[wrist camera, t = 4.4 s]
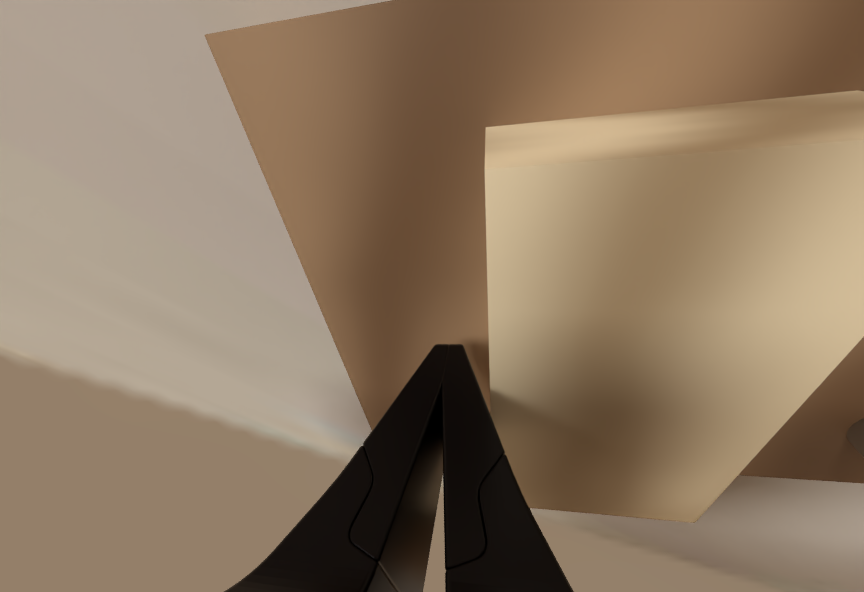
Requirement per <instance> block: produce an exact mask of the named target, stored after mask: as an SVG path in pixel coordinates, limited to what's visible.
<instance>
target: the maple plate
mask: <svg viewBox="0 0 864 592" xmlns="http://www.w3.org/2000/svg"><path fill="white" fill-rule="evenodd" d="M485 207H486V248H487V288H488V329H489V369H490V410H491V417H492V420H493V422H494V425H495V428H496V430H497V433H498V435H499V438H500V441H501V443H502V446H503V448H504V451H505V455H506V456H507V458H508V461H509V463H510V466H511V468H512V471H513V473H514V476H515V478H516V480H517V483H518V485H519V487H520V490H521V492H522V494H523V496H524V498H525V500H526V502H527V504H528V507H529V508H538V509H549V510H560V511H571V512H582V513H593V514H604V515H615V516H626V517H636V518H647V519H658V520H669V521H680V522H691V523H695V522H696V521H697V520H698V519H699V518H700V517H701V515H702V514H703V513H704V512H705V511H706V510H707V509H708V508H709V507H710V505H711V504H712V503H713V502H714V501H715V500H716V499H717V498H718V497H719V496H720V494H721V493H722V492H723V491H724V490H725V489H726V488H727V487H728V486H729V485H730V483H731V482H732V481H733V480H734V479H735V478H736V477H737V476H738V475H739V474H740V472H741V471H742V470H743V469H744V468H745V467H746V466H747V465H748V464H749V462H750V461H751V460H752V459H753V458H754V457H755V456H756V455H757V454H758V453H759V451H760V450H761V449H762V448H763V447H764V446H765V445H766V444H767V443H768V442H769V440H770V439H771V438H772V437H773V436H774V435H775V434H776V433H777V432H778V430H779V429H780V428H781V427H782V426H783V425H784V424H785V423H786V422H787V421H788V419H789V418H790V417H791V416H792V415H793V414H794V413H795V412H796V411H797V410H798V408H799V407H800V406H801V405H802V404H803V403H804V402H805V401H806V400H807V399H808V397H809V396H810V395H811V394H812V393H813V392H814V391H815V390H816V389H817V387H818V386H819V385H820V384H821V383H822V382H823V381H824V380H825V379H826V378H827V376H828V375H829V374H830V373H831V372H832V371H833V370H834V369H835V368H836V367H837V365H838V364H839V363H840V362H841V361H842V360H843V359H844V358H845V357H846V356H847V354H848V353H849V352H850V351H851V350H852V349H853V348H854V347H855V346H856V344H857V343H858V342H859V341H860V340H861V339H862V338H863V337H864V91H858V90H856V91H846V92H836V93H826V94H816V95H806V96H796V97H786V98H776V99H766V100H756V101H746V102H736V103H725V104H715V105H705V106H695V107H685V108H675V109H665V110H655V111H645V112H635V113H625V114H615V115H605V116H595V117H584V118H574V119H564V120H554V121H544V122H534V123H524V124H514V125H504V126H494V127H486V134H485Z"/></svg>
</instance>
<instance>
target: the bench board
mask: <svg viewBox="0 0 864 592" xmlns="http://www.w3.org/2000/svg"><path fill="white" fill-rule="evenodd" d="M205 37H206V40H207V42H208V44H209V47H210V49H211V52H212V54H213V56H214V59H215V61H216V63H217V66H218V68H219V70H220V73H221V75H222V77H223V80H224V82H225V85H226V87H227V89H228V92H229V94H230V96H231V99H232V101H233V103H234V106H235V108H236V111H237V113H238V115H239V118H240V120H241V122H242V125H243V127H244V129H245V132H246V134H247V137H248V139H249V141H250V144H251V146H252V148H253V151H254V153H255V155H256V158H257V160H258V163H259V165H260V167H261V170H262V172H263V174H264V177H265V179H266V181H267V184H268V186H269V189H270V191H271V193H272V196H273V198H274V200H275V203H276V205H277V207H278V210H279V212H280V214H281V217H282V219H283V222H284V224H285V226H286V229H287V231H288V233H289V236H290V238H291V240H292V243H293V245H294V248H295V250H296V252H297V255H298V257H299V259H300V262H301V264H302V266H303V269H304V271H305V274H306V276H307V278H308V281H309V283H310V285H311V288H312V290H313V292H314V295H315V297H316V300H317V302H318V304H319V307H320V309H321V311H322V314H323V316H324V318H325V321H326V323H327V325H328V328H329V330H330V333H331V335H332V337H333V340H334V342H335V344H336V347H337V349H338V351H339V354H340V356H341V359H342V361H343V363H344V366H345V368H346V370H347V373H348V375H349V377H350V380H351V382H352V385H353V387H354V389H355V392H356V394H357V396H358V399H359V401H360V403H361V406H362V408H363V411H364V413H365V415H366V418H367V420H368V422H369V425H370V427H371V429H372V430H373V429H374V428H375V426H376V425H377V424H378V422H379V421H380V419H381V418H382V417H383V415H384V414H385V413H386V411H387V410H388V408H389V407H390V406H391V404H392V403H393V402H394V400H395V399H396V397H397V396H398V395H399V393H400V392H401V391H402V389H403V388H404V386H405V385H406V384H407V382H408V381H409V379H410V378H411V377H412V375H413V374H414V373H415V371H416V370H417V368H418V367H419V366H420V364H421V363H422V362H423V360H424V359H425V357H426V356H427V355H428V353H429V352H430V351H431V349H432V348H433V346H434V345H436V344H462V345H463V346H464V348H465V350H466V353H467V355H468V358H469V361H470V363H471V366H472V368H473V371H474V373H475V376H476V379H477V381H478V384H479V386H480V389H481V392H482V394H483V397H484V399H485V402H486V404H487V407H488V410H489V412H490V415H491V410H490V369H489V329H488V288H487V248H486V207H485V134H486V127H494V126H504V125H514V124H524V123H534V122H544V121H554V120H564V119H574V118H584V117H595V116H605V115H615V114H625V113H635V112H645V111H655V110H665V109H675V108H685V107H695V106H705V105H715V104H725V103H736V102H746V101H756V100H766V99H776V98H786V97H796V96H806V95H816V94H826V93H836V92H846V91H856V90H858V91H864V0H392V1H387V2H381V3H376V4H370V5H365V6H359V7H354V8H348V9H343V10H337V11H332V12H327V13H321V14H316V15H310V16H305V17H299V18H294V19H288V20H283V21H277V22H272V23H266V24H261V25H255V26H250V27H245V28H239V29H234V30H228V31H223V32H217V33H212V34H206V35H205ZM739 475H745V476H761V477H776V478H791V479H806V480H822V481H837V482H852V483H864V337H863V338H862V339H861V340H860V341H859V342H858V343H857V344H856V346H855V347H854V348H853V349H852V350H851V351H850V352H849V353H848V354H847V356H846V357H845V358H844V359H843V360H842V361H841V362H840V363H839V364H838V365H837V367H836V368H835V369H834V370H833V371H832V372H831V373H830V374H829V375H828V376H827V378H826V379H825V380H824V381H823V382H822V383H821V384H820V385H819V386H818V387H817V389H816V390H815V391H814V392H813V393H812V394H811V395H810V396H809V397H808V399H807V400H806V401H805V402H804V403H803V404H802V405H801V406H800V407H799V408H798V410H797V411H796V412H795V413H794V414H793V415H792V416H791V417H790V418H789V419H788V421H787V422H786V423H785V424H784V425H783V426H782V427H781V428H780V429H779V430H778V432H777V433H776V434H775V435H774V436H773V437H772V438H771V439H770V440H769V442H768V443H767V444H766V445H765V446H764V447H763V448H762V449H761V450H760V451H759V453H758V454H757V455H756V456H755V457H754V458H753V459H752V460H751V461H750V462H749V464H748V465H747V466H746V467H745V468H744V469H743V470H742V471H741V472H740V474H739Z"/></svg>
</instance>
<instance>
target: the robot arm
mask: <svg viewBox="0 0 864 592" xmlns="http://www.w3.org/2000/svg"><path fill="white" fill-rule="evenodd" d="M363 446H364V447H363ZM363 446H361V447H360V448H359V450H358V451H357V452H356V454H355V455H354V457H353V458H352V459H351V461H350V462H349V463H348V465H347V466H346V467H345V468H344V470H343V471H342V472H341V474H340V475H339V476H338V478H337V479H336V480H335V481H334V482H333V484H332V485H331V486H330V487H329V488H328V490H327V491H326V492H325V493H324V494H323V495H322V497H321V498H320V499H319V500H318V501H317V502H316V503H315V504H314V506H313V507H312V508H311V509H310V510H309V511H308V512H307V514H306V515H305V516H304V517H303V518H302V519H301V520H300V521H299V523H298V524H297V525H296V526H295V527H294V528H293V529H292V530H291V532H290V533H289V534H288V535H287V536H286V537H285V538H284V539H283V541H282V542H281V543H280V544H279V545H278V546H277V547H276V549H275V550H274V551H273V552H272V553H271V554H270V555H269V556H268V557H267V558H266V559H265V560H264V561H263V562H262V563H261V564H260V565H259V566H258V567H257V568H256V569H254V570H253V571H252V572H251V573H250V574H249V575H247V576H246V577H245V578H243V579H242V580H241V581H239V582H238V583H237V584H235V585H234V586H232V587H231V588H229V589H228V590H226V591H224V592H423V587H424V582H425V576H426V570H427V564H428V558H429V552H430V546H431V540H432V534H433V528H434V522H435V516H436V510H437V504H438V498H439V493H440V487H441V481H442V475H443V482H444V532H445V569H446V573H445V575H446V576H445V578H446V579H445V583H446V592H573V590H572V588H571V586H570V584H569V583H568V581H567V579H566V577H565V575H564V573H563V571H562V569H561V567H560V566H559V564H558V562H557V560H556V558H555V556H554V554H553V552H552V551H551V549H550V547H549V545H548V543H547V541H546V539H545V538H544V536H543V534H542V532H541V530H540V528H539V526H538V524H537V522H536V521H535V519H534V517H533V515H532V513H531V511H530V509H529V507H528V504H527V502H526V500H525V498H524V496H523V494H522V492H521V490H520V487H519V485H518V483H517V480H516V478H515V476H514V473H513V471H512V468H511V466H510V463H509V461H508V458H507V456H506V455H505V451H504V448H503V446H502V443H501V441H500V438H499V435H498V433H497V430H496V428H495V425H494V422H493V420H492V417H491V415H490V412H489V410H488V407H487V404H486V402H485V399H484V397H483V394H482V392H481V389H480V386H479V384H478V381H477V379H476V376H475V373H474V371H473V368H472V366H471V363H470V361H469V358H468V355H467V353H466V350H465V348H464V346H463V345H462V344H436V345H434V346H433V348H432V349H431V351H430V352H429V353H428V355H427V356H426V357H425V359H424V360H423V362H422V363H421V364H420V366H419V367H418V368H417V370H416V371H415V373H414V374H413V375H412V377H411V378H410V379H409V381H408V382H407V384H406V385H405V386H404V388H403V389H402V391H401V392H400V393H399V395H398V396H397V397H396V399H395V400H394V402H393V403H392V404H391V406H390V407H389V408H388V410H387V411H386V413H385V414H384V415H383V417H382V418H381V419H380V421H379V422H378V424H377V425H376V426H375V428H374V429H373V430H372V432H371V433H370V435H369V436H368V437H367V439H366V440H365V442H364V443H363Z"/></svg>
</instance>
